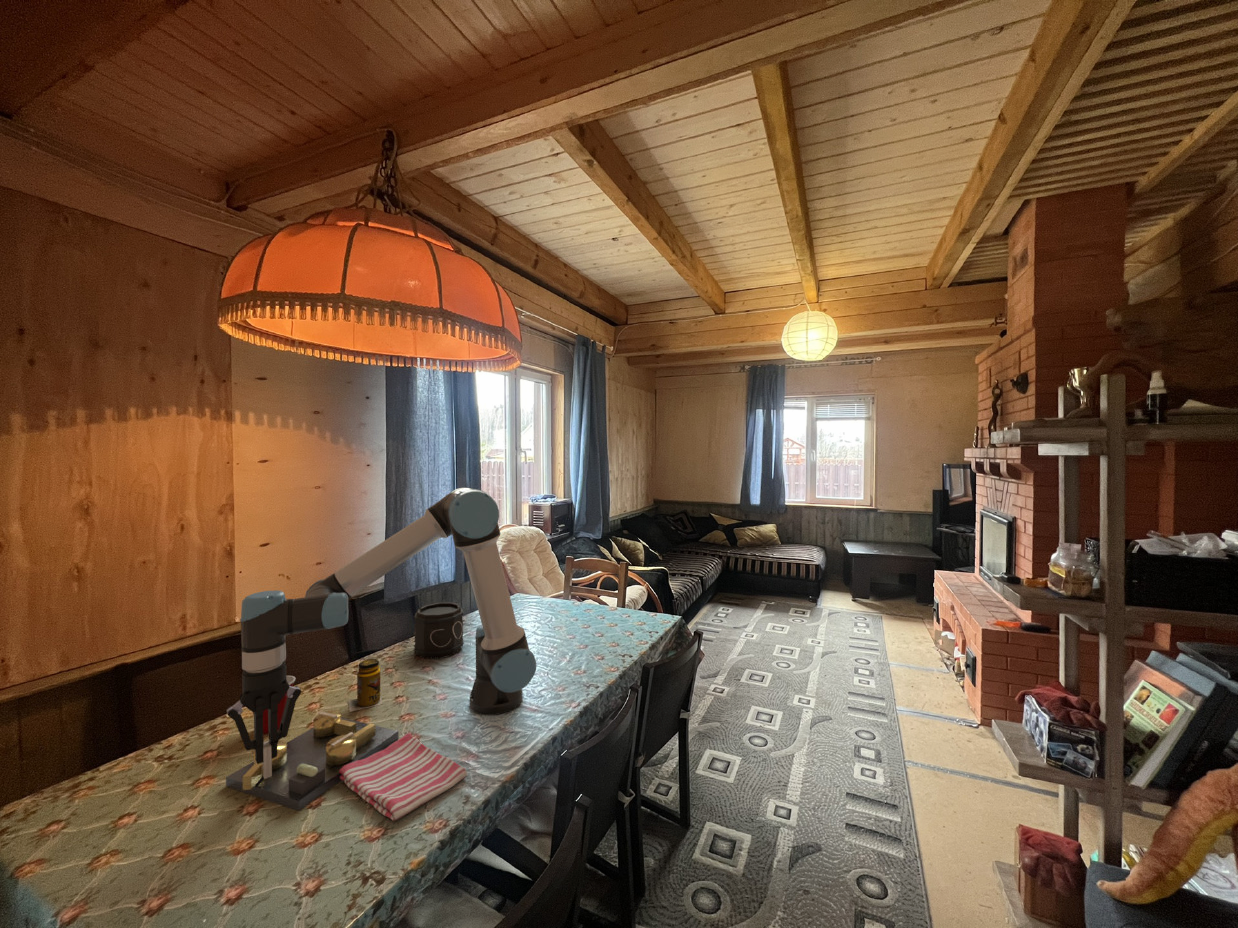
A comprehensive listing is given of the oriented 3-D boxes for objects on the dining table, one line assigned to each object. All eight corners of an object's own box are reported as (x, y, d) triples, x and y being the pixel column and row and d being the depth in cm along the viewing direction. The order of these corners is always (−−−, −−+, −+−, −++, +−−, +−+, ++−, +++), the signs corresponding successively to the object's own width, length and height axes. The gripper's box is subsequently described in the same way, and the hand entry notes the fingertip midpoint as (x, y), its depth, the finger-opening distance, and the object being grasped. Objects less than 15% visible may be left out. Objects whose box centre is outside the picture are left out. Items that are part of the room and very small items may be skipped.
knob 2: (307, 734, 117) (307, 718, 117) (329, 721, 122) (329, 706, 122) (343, 743, 113) (343, 726, 113) (363, 730, 119) (363, 714, 118)
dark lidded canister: (475, 647, 178) (475, 605, 178) (434, 664, 163) (434, 619, 163) (445, 637, 188) (445, 598, 188) (403, 652, 173) (403, 610, 173)
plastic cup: (285, 712, 131) (284, 670, 131) (303, 724, 125) (303, 679, 125) (237, 731, 122) (237, 685, 122) (255, 744, 116) (255, 696, 116)
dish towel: (409, 743, 117) (409, 729, 117) (468, 779, 104) (468, 763, 104) (336, 781, 103) (336, 765, 103) (394, 828, 89) (395, 810, 89)
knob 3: (339, 767, 104) (339, 749, 104) (319, 762, 106) (319, 744, 106) (382, 738, 115) (382, 721, 115) (363, 733, 117) (363, 717, 117)
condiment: (383, 704, 136) (383, 663, 136) (349, 712, 131) (349, 670, 131) (380, 694, 142) (380, 654, 142) (347, 701, 137) (347, 661, 137)
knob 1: (263, 757, 108) (263, 739, 108) (292, 754, 109) (292, 736, 109) (230, 792, 96) (230, 772, 96) (263, 788, 97) (263, 769, 97)
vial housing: (326, 779, 100) (326, 761, 100) (304, 795, 96) (304, 775, 96) (309, 774, 102) (309, 756, 102) (287, 789, 97) (286, 770, 97)
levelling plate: (398, 738, 119) (398, 731, 119) (299, 810, 94) (299, 801, 94) (334, 723, 126) (334, 715, 126) (226, 786, 101) (226, 777, 101)
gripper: (296, 651, 107) (298, 753, 107) (223, 670, 98) (225, 781, 98) (304, 661, 102) (306, 768, 102) (227, 681, 92) (230, 799, 93)
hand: (266, 774), depth 100 cm, fingers closed
